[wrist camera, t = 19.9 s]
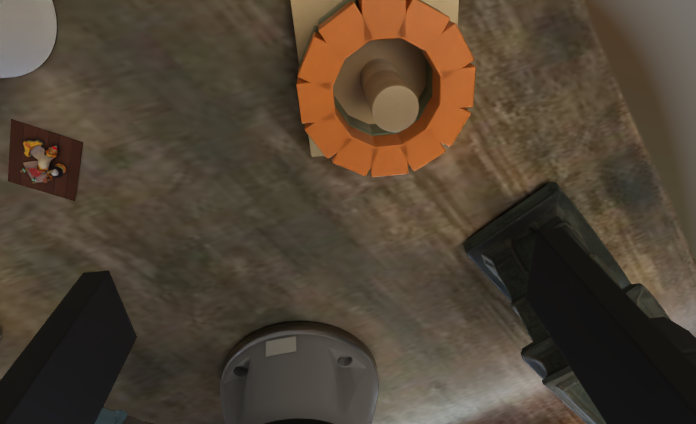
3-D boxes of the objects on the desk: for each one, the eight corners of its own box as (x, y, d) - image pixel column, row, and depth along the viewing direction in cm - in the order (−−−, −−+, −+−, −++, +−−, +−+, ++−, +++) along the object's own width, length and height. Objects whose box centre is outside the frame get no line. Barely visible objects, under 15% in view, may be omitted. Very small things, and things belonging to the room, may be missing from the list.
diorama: (71, 148, 31) (55, 160, 29) (66, 191, 32) (50, 205, 30) (25, 133, 30) (6, 144, 28) (22, 178, 32) (3, 192, 30)
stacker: (447, 136, 32) (486, 188, 24) (311, 149, 32) (309, 205, 24) (453, -18, 27) (503, -11, 19) (291, -3, 27) (281, 10, 19)
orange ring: (460, 155, 29) (469, 168, 27) (310, 170, 29) (310, 183, 27) (469, -14, 24) (481, -12, 22) (287, 3, 24) (285, 6, 22)
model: (455, 245, 37) (530, 400, 24) (548, 175, 34) (691, 307, 21) (540, 326, 42) (639, 488, 29) (626, 271, 39) (779, 424, 26)
